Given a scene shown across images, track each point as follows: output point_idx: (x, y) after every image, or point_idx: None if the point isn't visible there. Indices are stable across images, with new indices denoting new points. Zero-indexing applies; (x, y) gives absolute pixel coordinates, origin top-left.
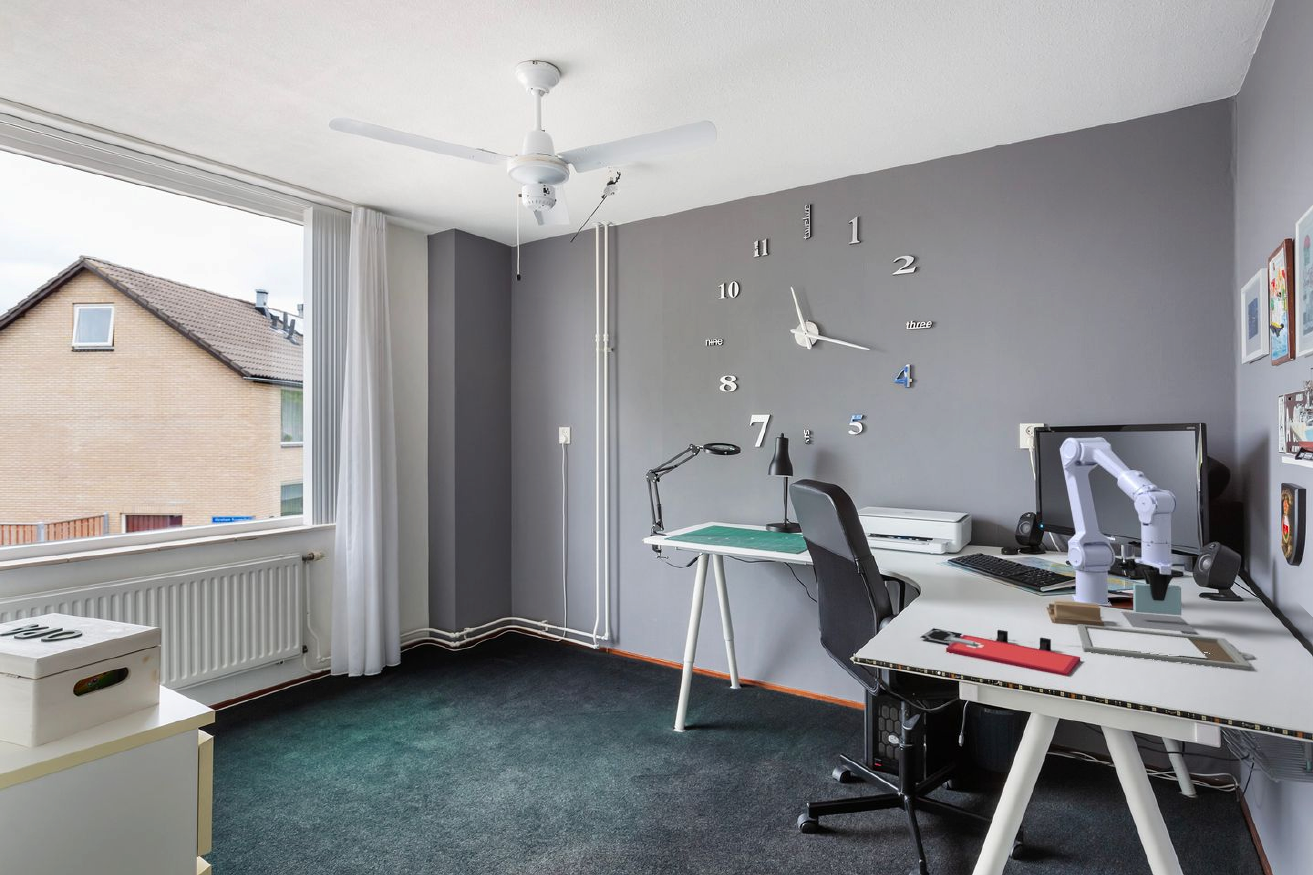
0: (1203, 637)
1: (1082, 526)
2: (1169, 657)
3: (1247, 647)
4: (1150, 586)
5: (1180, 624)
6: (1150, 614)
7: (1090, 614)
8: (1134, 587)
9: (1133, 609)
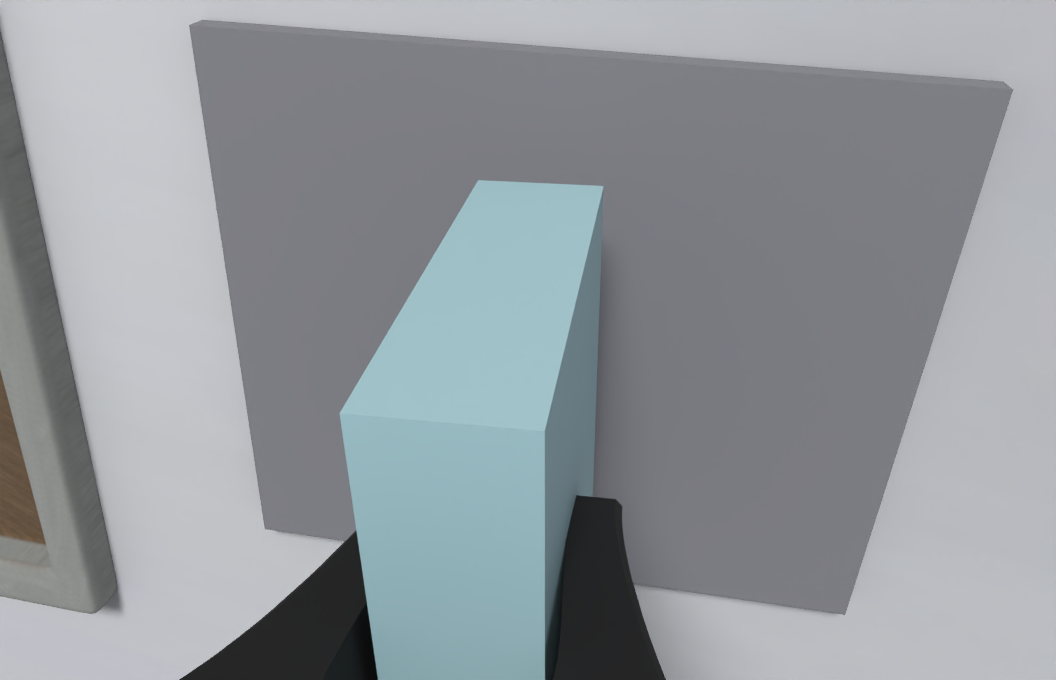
0: (37, 502)
1: None
2: None
3: (76, 656)
4: (324, 612)
5: None
6: (896, 396)
7: None
8: (446, 376)
9: (595, 188)
